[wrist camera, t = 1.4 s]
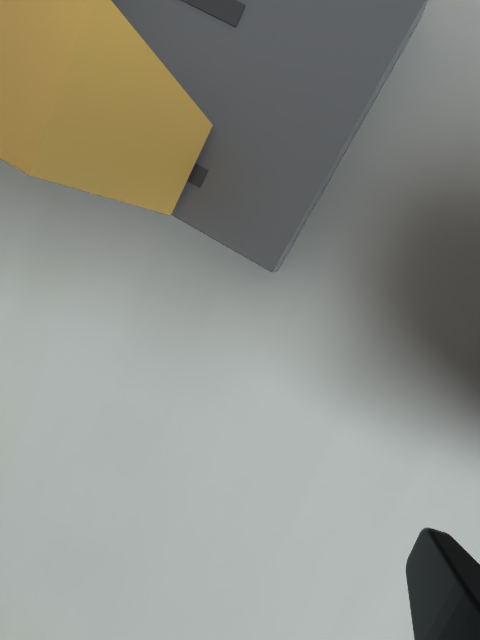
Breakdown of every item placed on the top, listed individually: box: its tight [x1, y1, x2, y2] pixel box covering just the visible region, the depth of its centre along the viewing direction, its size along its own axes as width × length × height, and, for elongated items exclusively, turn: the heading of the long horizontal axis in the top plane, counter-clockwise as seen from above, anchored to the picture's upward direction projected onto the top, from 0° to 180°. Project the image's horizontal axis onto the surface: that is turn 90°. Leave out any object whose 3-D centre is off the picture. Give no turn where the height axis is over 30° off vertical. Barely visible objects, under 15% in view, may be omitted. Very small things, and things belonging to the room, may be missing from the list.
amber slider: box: [0, 0, 213, 215], centre depth 12 cm, size 3×4×8 cm
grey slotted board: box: [111, 0, 428, 272], centre depth 16 cm, size 16×12×2 cm
